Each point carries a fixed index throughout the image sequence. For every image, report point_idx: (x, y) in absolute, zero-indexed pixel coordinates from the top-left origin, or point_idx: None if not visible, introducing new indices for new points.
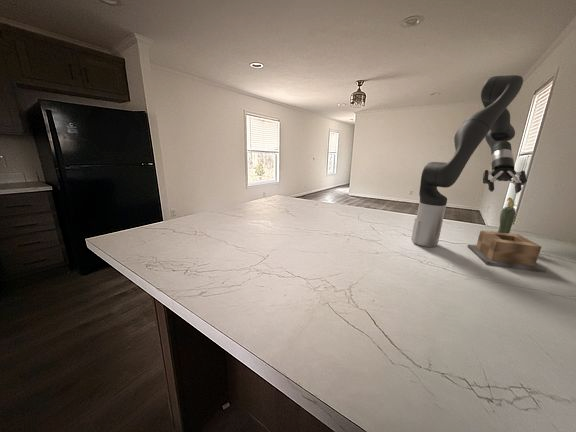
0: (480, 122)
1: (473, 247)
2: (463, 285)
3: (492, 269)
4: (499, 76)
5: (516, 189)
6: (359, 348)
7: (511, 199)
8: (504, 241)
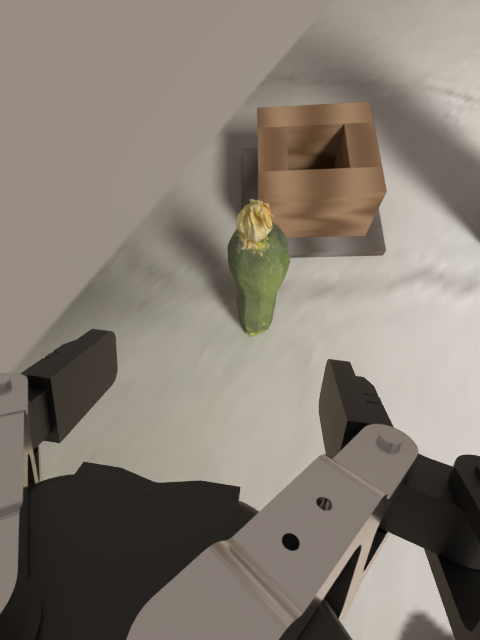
0: None
1: (374, 229)
2: (437, 54)
3: None
4: None
5: (100, 369)
6: None
7: (256, 204)
8: (345, 110)
